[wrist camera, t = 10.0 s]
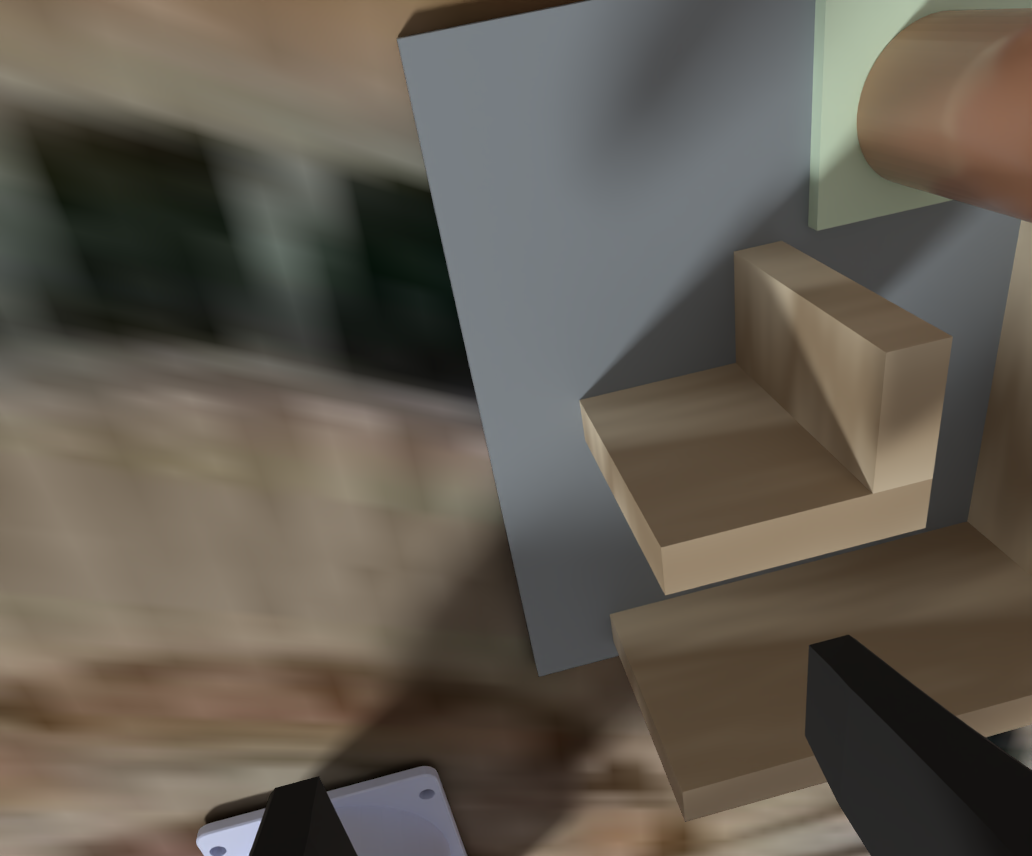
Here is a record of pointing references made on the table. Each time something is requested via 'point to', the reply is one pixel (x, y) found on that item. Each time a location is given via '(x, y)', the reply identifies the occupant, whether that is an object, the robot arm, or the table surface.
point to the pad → (836, 93)
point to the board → (651, 256)
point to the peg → (955, 109)
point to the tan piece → (816, 525)
